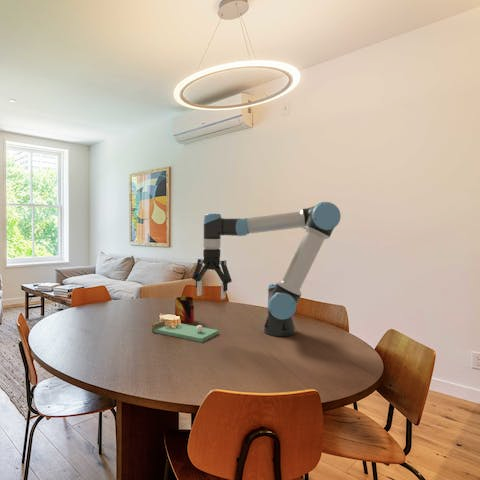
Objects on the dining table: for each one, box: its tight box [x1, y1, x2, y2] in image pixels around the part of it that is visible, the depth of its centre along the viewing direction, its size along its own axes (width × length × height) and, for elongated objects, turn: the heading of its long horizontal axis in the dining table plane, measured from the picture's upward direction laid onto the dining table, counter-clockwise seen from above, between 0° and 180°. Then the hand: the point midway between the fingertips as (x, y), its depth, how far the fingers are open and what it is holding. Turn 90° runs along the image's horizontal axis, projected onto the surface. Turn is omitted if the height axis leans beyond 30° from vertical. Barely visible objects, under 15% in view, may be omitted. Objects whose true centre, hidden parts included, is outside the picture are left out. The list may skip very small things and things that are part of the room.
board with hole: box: [151, 320, 220, 343], centre depth 159 cm, size 28×14×4 cm, turn 62°
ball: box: [196, 324, 204, 332], centre depth 155 cm, size 3×3×3 cm
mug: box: [174, 296, 195, 325], centre depth 178 cm, size 10×14×12 cm
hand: (211, 297), depth 152 cm, fingers open, 12 cm apart
